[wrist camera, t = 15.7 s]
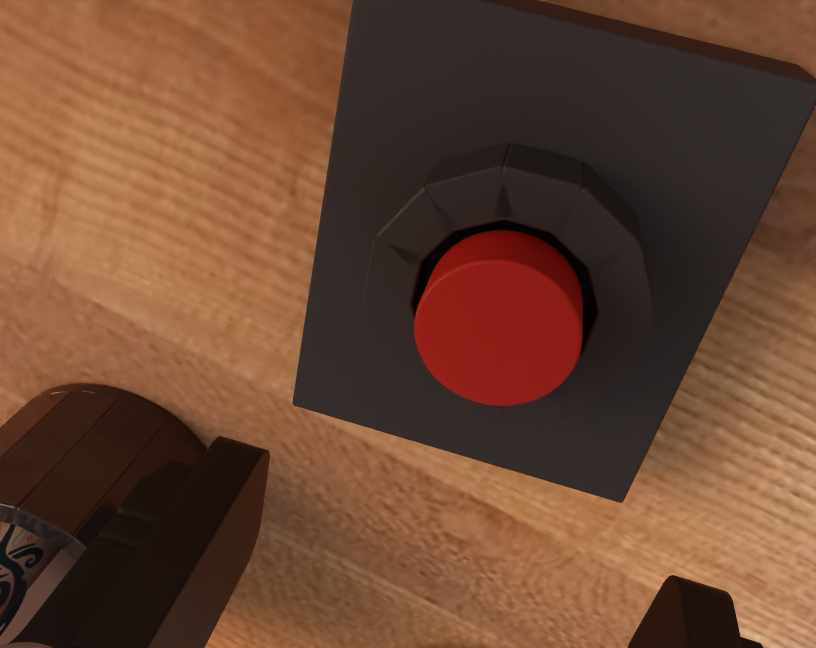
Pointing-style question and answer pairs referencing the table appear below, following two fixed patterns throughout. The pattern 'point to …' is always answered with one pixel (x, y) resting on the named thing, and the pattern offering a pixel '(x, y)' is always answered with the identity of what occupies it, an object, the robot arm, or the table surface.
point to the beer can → (26, 577)
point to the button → (501, 318)
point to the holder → (83, 459)
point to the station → (538, 214)
